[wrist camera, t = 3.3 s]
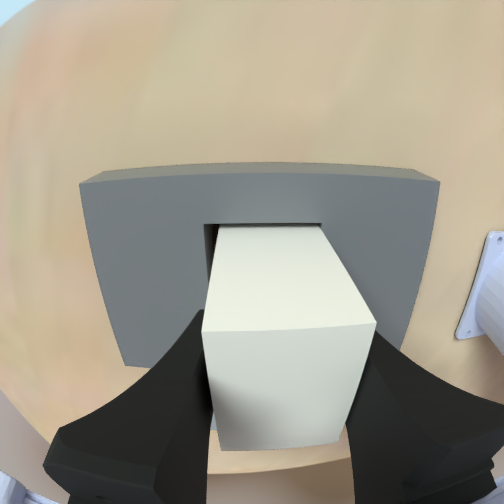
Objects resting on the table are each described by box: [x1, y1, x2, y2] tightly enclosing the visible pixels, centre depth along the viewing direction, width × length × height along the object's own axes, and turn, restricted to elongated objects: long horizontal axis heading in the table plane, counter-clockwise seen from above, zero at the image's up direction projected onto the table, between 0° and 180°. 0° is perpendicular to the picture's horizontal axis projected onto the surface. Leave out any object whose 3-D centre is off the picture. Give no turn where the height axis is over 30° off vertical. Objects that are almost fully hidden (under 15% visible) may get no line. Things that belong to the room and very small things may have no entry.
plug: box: [201, 223, 377, 451], centre depth 11 cm, size 4×6×7 cm
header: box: [79, 162, 440, 368], centre depth 14 cm, size 15×10×2 cm, turn 91°
